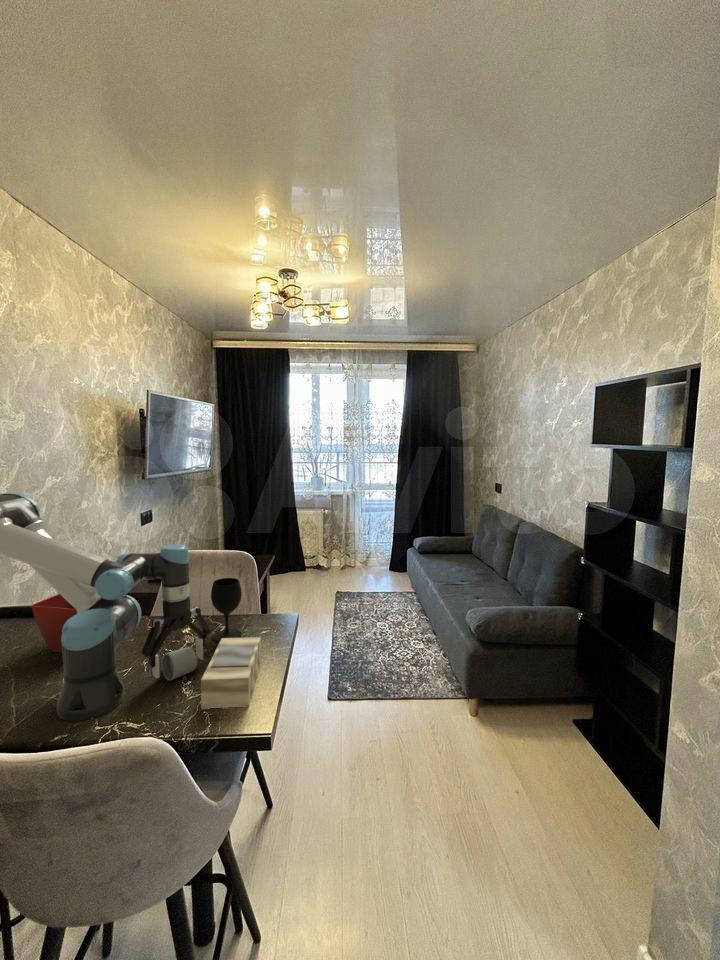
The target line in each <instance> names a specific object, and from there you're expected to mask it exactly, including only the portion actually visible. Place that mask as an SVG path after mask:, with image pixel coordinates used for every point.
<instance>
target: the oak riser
mask: <svg viewBox="0 0 720 960" xmlns="http://www.w3.org/2000/svg"><path fill="white" fill-rule="evenodd" d="M261 639H262V636H253V637H250V636H249V637H248V636H247V637H240V638H222V639H221V641H220V642H218V645H217V647H216V649H215V651H214V653H213V655H212V657H211V660H210V661H209V664H208V665H207V667H206V669H205V671H204V673H203V675H202V676H201V678H200V691H201V693H200V695H201V702H200V704H201V710H211V709H210V708H221V707H222V709H224V708H223V707H244V708H250V705H249V704H250V703H251V701H250V700H251V699H252V697H253V693H254V690H255V687H256V686H255V685H256V681H257V678H258V675H259V671H258V670H260V667H261V662H262V640H261Z"/></svg>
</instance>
